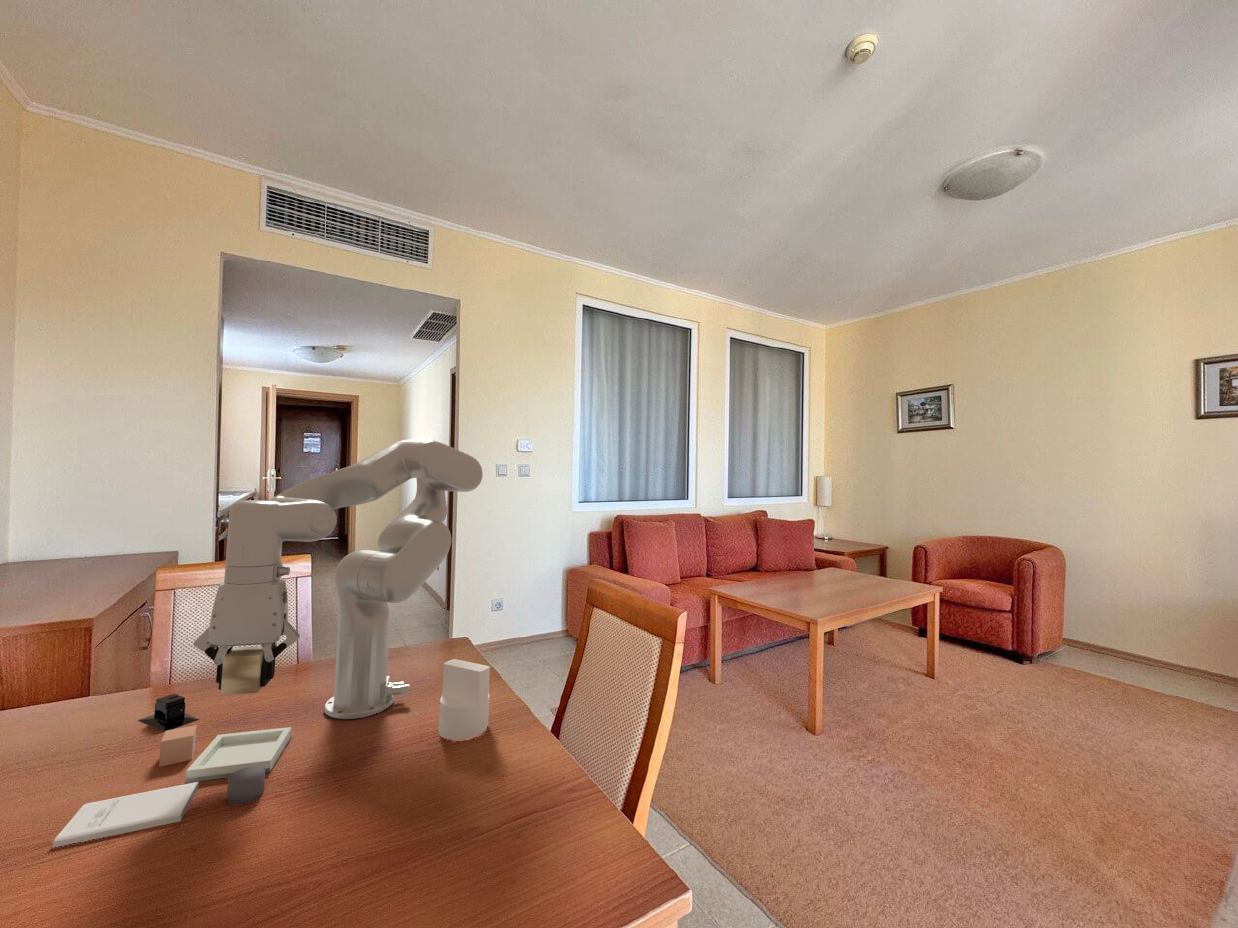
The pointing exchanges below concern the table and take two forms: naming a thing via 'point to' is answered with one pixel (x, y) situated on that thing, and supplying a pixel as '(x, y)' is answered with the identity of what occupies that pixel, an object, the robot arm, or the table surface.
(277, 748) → the tray
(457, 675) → the white rounded pedestal block
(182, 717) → the black boxy piece
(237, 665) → the beech block
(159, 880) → the table surface
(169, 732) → the terracotta cube
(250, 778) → the grey rounded lump
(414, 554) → the robot arm
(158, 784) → the table surface
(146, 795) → the external hard drive
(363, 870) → the table surface
